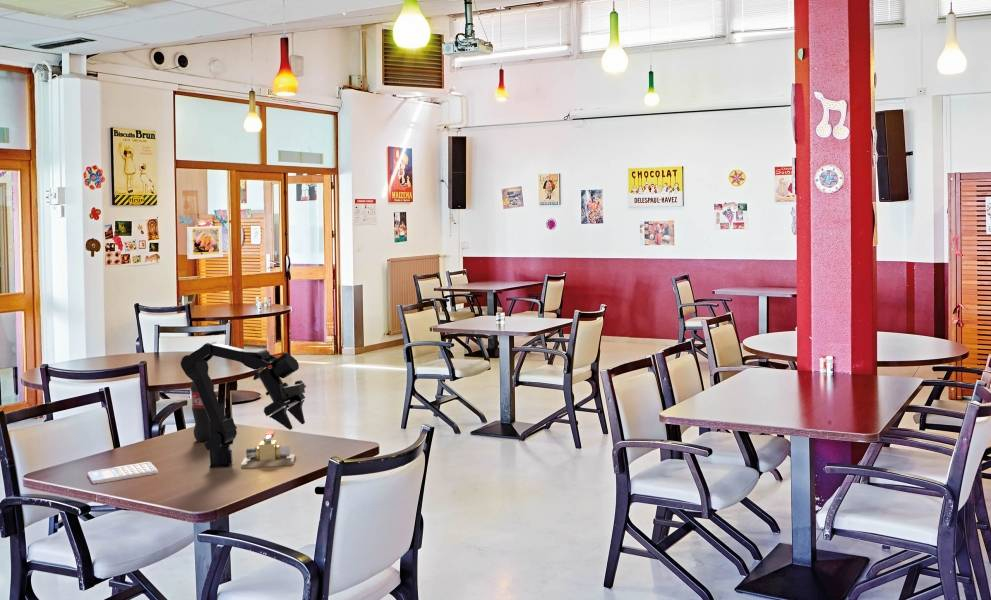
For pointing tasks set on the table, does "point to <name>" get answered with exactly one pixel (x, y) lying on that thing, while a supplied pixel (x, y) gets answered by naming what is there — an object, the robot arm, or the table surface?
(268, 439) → the valve lever
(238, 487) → the table surface
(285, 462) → the mounting board
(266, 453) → the brass valve
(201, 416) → the cola bottle
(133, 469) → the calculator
